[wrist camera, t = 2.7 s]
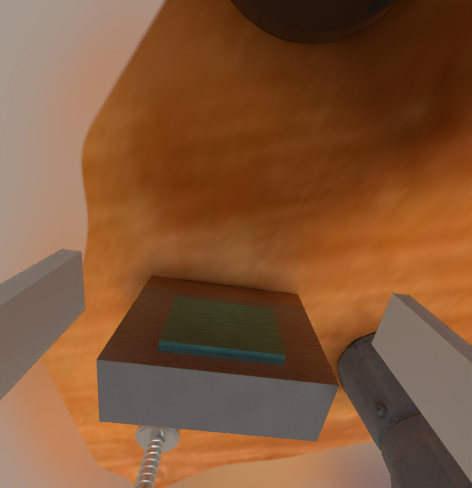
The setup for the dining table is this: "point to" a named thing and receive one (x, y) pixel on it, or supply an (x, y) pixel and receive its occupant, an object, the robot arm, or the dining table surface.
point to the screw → (153, 451)
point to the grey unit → (216, 363)
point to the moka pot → (396, 422)
